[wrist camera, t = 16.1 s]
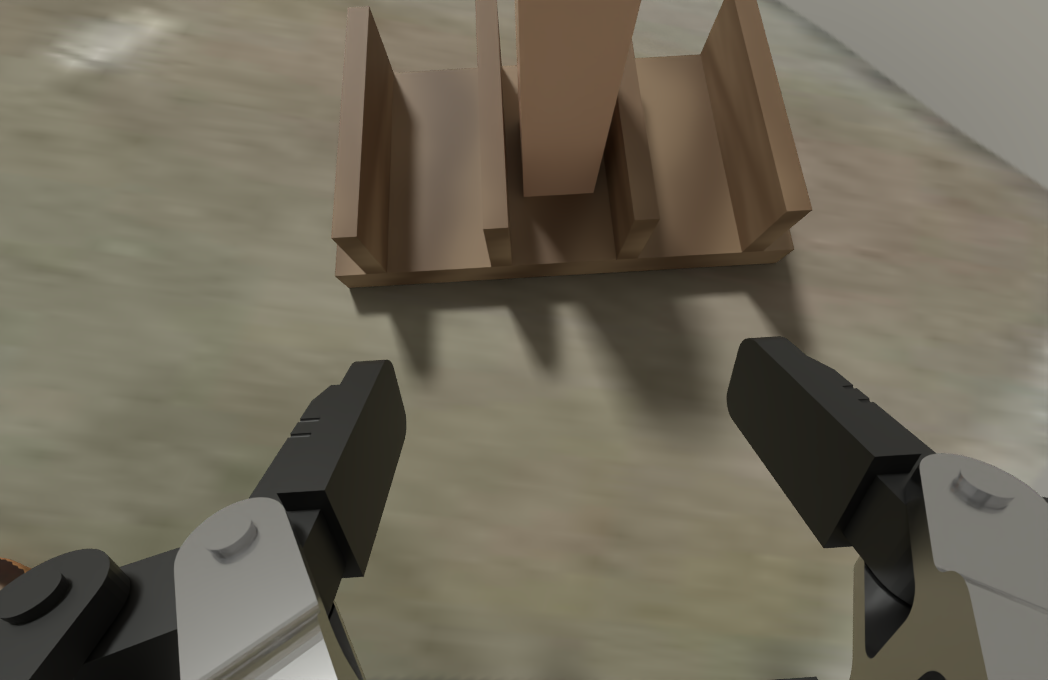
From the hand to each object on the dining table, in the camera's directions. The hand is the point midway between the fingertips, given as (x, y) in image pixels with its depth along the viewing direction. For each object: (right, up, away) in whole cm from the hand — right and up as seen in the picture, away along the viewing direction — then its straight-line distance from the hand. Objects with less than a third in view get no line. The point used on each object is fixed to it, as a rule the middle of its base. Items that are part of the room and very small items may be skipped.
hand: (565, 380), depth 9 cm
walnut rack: (+1, +10, +13) cm, 16 cm away
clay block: (+1, +10, +11) cm, 15 cm away
